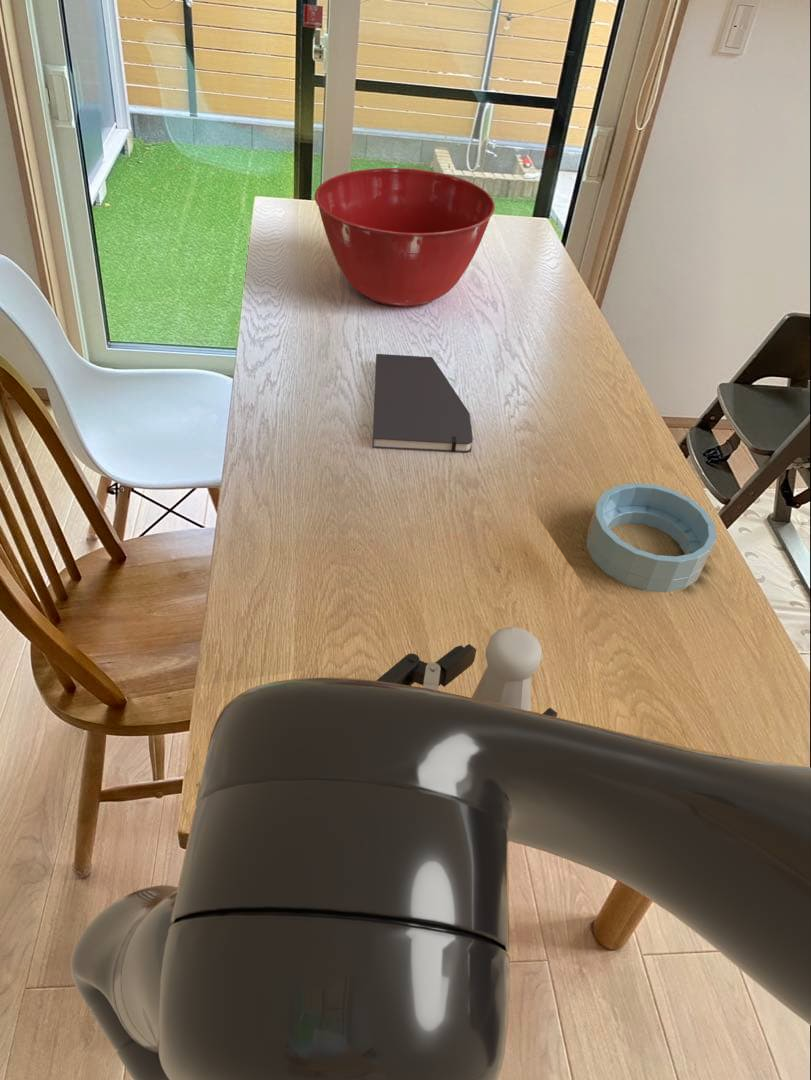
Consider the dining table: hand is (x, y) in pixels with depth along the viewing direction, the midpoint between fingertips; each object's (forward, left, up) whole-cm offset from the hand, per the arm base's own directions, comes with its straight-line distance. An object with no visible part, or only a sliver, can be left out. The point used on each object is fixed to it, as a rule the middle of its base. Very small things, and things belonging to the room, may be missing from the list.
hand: (510, 683), depth 64 cm
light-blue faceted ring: (+17, -24, -8) cm, 31 cm away
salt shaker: (0, +1, -8) cm, 8 cm away
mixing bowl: (+87, -18, -8) cm, 89 cm away
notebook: (+52, -10, -8) cm, 53 cm away
